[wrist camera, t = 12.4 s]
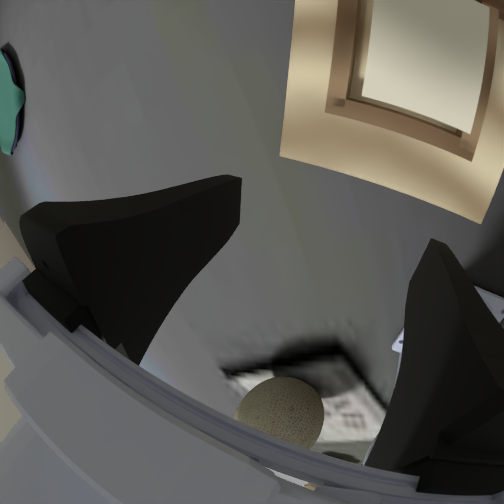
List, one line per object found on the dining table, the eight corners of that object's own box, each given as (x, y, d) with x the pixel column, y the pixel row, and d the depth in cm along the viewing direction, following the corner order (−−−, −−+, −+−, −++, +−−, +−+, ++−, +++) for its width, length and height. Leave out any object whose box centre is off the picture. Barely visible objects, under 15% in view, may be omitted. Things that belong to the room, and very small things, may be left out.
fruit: (351, 380, 30) (305, 500, 19) (317, 411, 37) (276, 500, 26) (270, 345, 32) (203, 457, 21) (253, 383, 40) (202, 467, 29)
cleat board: (477, 217, 15) (494, 260, 11) (284, 152, 19) (253, 176, 15) (523, 0, 5) (556, -15, 1) (305, -63, 9) (275, -95, 5)
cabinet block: (439, 110, 12) (470, 134, 7) (372, 88, 13) (361, 96, 8) (453, 20, 8) (489, -11, 3) (384, -2, 10) (376, -48, 5)
